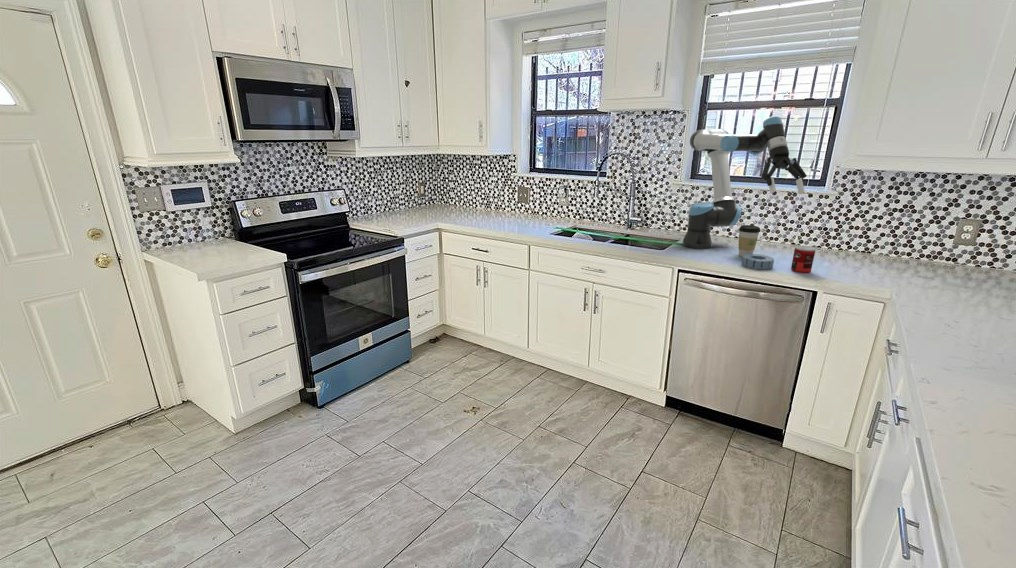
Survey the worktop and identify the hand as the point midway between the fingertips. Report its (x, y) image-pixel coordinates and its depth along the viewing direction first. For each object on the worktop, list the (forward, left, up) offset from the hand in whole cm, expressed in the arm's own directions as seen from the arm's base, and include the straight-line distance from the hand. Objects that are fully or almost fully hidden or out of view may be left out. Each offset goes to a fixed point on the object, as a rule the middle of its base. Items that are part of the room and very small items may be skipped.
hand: (787, 192), depth 203 cm
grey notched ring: (-8, +1, -36) cm, 37 cm away
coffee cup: (-21, +13, -36) cm, 44 cm away
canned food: (+8, +9, -36) cm, 38 cm away
